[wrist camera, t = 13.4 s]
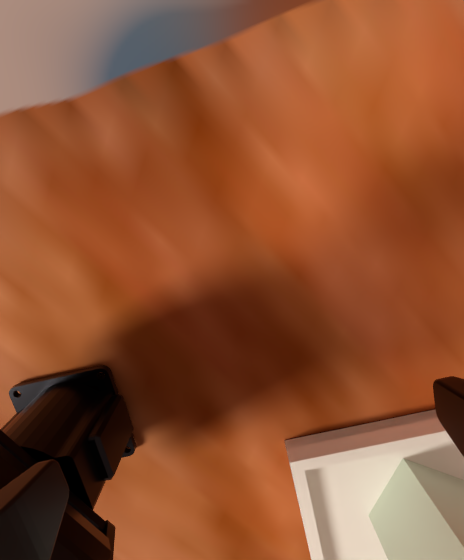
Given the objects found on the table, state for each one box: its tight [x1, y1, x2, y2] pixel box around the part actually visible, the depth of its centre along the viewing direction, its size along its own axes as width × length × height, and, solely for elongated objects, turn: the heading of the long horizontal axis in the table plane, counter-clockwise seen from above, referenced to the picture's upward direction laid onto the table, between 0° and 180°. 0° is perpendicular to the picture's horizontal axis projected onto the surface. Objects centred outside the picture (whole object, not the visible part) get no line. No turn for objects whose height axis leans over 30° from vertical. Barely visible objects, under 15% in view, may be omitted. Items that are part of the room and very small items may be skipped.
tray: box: [285, 410, 464, 560], centre depth 23 cm, size 16×12×2 cm
